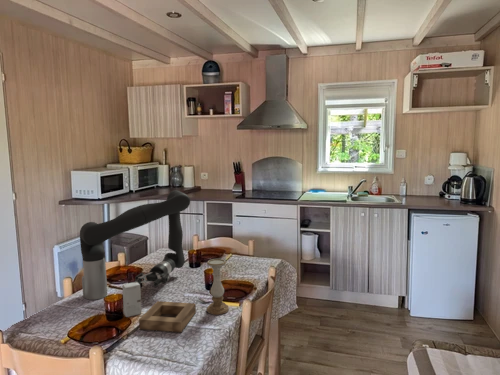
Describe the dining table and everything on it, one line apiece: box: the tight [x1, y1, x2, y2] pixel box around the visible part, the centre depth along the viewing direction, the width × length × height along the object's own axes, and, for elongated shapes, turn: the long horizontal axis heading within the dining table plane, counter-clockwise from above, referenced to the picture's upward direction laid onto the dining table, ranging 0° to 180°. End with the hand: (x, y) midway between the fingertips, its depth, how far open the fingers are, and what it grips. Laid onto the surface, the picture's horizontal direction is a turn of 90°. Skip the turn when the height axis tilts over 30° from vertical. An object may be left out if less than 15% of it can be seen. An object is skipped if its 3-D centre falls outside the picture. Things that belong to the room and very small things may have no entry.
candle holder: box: [206, 258, 230, 316], centre depth 148 cm, size 9×9×20 cm
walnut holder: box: [138, 300, 197, 334], centre depth 140 cm, size 16×16×4 cm
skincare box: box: [122, 281, 142, 318], centre depth 147 cm, size 6×4×12 cm
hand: (145, 284), depth 158 cm, fingers open, 8 cm apart
